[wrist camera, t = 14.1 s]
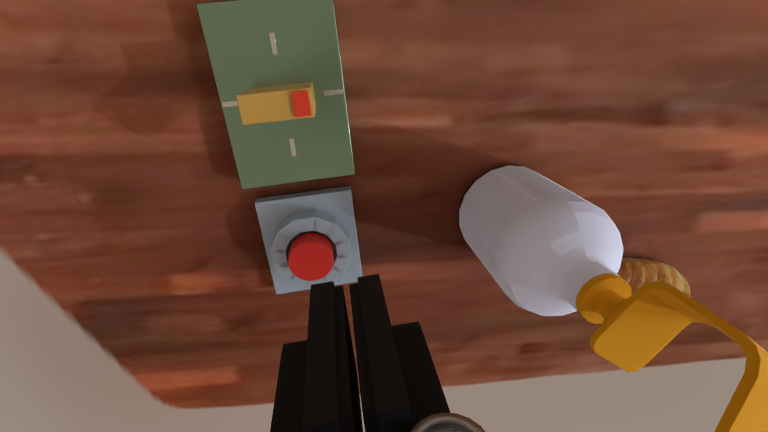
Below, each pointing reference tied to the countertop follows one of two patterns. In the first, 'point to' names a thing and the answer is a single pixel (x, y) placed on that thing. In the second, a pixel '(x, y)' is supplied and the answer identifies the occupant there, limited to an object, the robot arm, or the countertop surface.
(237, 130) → the plate
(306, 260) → the button
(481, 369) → the countertop surface
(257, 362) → the countertop surface
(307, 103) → the yellow bar
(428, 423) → the robot arm
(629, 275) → the pastry
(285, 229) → the grey square piece
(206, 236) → the countertop surface
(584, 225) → the soap bottle
